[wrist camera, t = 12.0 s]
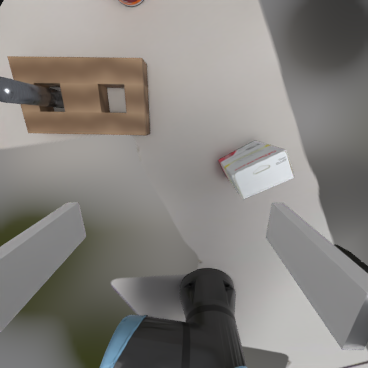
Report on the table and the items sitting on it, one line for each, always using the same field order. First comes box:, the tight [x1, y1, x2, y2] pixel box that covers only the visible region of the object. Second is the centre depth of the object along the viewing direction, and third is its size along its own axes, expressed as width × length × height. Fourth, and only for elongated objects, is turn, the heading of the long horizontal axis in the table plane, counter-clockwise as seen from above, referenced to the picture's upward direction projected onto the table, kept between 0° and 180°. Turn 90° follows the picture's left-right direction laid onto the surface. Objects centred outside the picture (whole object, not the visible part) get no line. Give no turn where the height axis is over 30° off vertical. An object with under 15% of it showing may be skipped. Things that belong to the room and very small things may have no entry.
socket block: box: [7, 56, 150, 135], centre depth 32 cm, size 12×22×4 cm, turn 89°
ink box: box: [218, 141, 294, 200], centre depth 32 cm, size 9×5×12 cm, turn 118°
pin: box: [0, 77, 64, 108], centre depth 28 cm, size 3×3×12 cm
